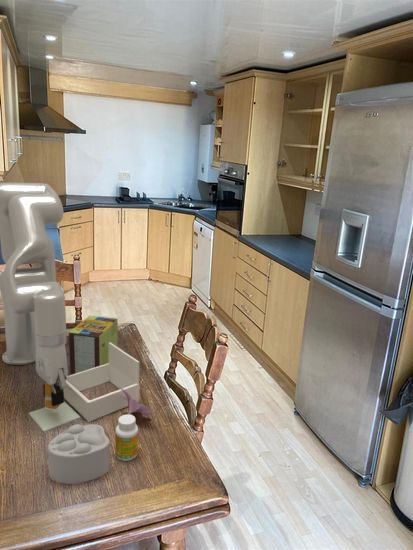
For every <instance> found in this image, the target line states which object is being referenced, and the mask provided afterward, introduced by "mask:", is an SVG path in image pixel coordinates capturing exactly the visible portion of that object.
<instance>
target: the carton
mask: <svg viewBox="0 0 413 550" xmlns="http://www.w3.org/2000/svg"><path fill="white" fill-rule="evenodd" d="M108 350H109V363H107V364H104V365H101V366H98V367H95V368H92V369H89V370H85V371H82V372H79V373H76V374H73V375H70V374H69V375H68V377H67V380H65V381H66V384H67V387H66V388H64V400H66V402H68V403H69V405H70V406H71V407H73V409H75V410H76V411H77V412H78V413H79V414H80V415H81V416H82V417H83V418H84V419H85V421H87V422H88V423H89V422H92V421H95V420H98V419H100V418H102V417H105V416H106V415H109V414H112V413H114V412H117V411H120V410H123V409H124V408H127V407H129V406H128V402H127V401H128V400H127V401H126V400H125V399H123V398H122V397H120V396H124V397H125V398H126V395H125V394H124V392H123V391H122V390H121V389H120V388H122V389H123V390H125V391H126V392H127V393H128V394H129V395H130V396H131V397H132V398H133V399H135V400H136V401H139V400H140V385H141V384H140V361H139V360H137V359H136V358H135V357H133V356H131V355H130V354H128V353H127V352H125V351H124V350H123V349H121V348H120V347H116V346H115V345H113V344H112V343H108ZM108 382H110V383H111V384H112V385H114V386H115V387H116V388H118V389H117V390H115V391H112V392H108V393H106V394H104V395H100V396H99V397H96V398H93V399H91V400H90V399H88V398H87V397H86V396H85V395H84V394H83V393H82V391H85V390H88V389H91V388H93V387H97V386H99V385H102V384H104V383H108ZM119 387H120V388H119ZM126 399H127V398H126ZM139 402H140V401H139Z"/></svg>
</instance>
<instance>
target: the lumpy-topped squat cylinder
mask: <svg viewBox="0 0 413 550" xmlns="http://www.w3.org/2000/svg"><path fill="white" fill-rule="evenodd" d="M110 446H111V445H110V439H109V437H108V436H107V435H106V433H105V428H104V427H103V426H102V425H100V424H96V423H95V424H92V423H91V424H86V425H82V424H79V423H78V424H73V425H71V426H70V427H68V429H66V430H64V431H62V432H61V433H59V434H57V435H56V436H55V437H54V438H52V439H51V440H50V442H49V443H48V446H47V456H48V457H47V459H48V460H47V461H48V476H49V477H50V479H51V480H52V481H54V482H56V483H59V484H63V485H65V484H67V485H77V484H83V483H85V482H89V481H92V480H95V479H98V478H101V477H103V476H104V475H106V474H107V473H108V472H109V470H110V467H111V464H110V462H111V460H110V459H111V457H110V456H111V455H110V453H111V447H110Z"/></svg>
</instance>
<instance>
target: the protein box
mask: <svg viewBox="0 0 413 550" xmlns="http://www.w3.org/2000/svg"><path fill="white" fill-rule="evenodd" d="M118 321H119V319H118V318H114V317H112V318H111V317H106V316H105V317H103V316H99V315H98V316H97V315H88V316H87V317H86V318H84V320H82V321H80V322H79V323H78V324H77V325H76V326H74V327H73V328H72V329H71V330H70V331H69V332H68V342H69V343H68V346H69V349H68V350H69V351H68V352H69V367H70V368H69V372H70V373H69V376H70V375H73V374H76V373H79V372H82V371H85V370H89V369H92V368H95V367H98V366H101V365H104V364H107V363H109V350H108V343H112V344H113V345H115V346H116V347H118V345H119V344H118V340H119V339H118V332H119V331H118V327H119V325H118ZM118 348H119V347H118Z"/></svg>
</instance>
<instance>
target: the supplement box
mask: <svg viewBox="0 0 413 550" xmlns="http://www.w3.org/2000/svg"><path fill="white" fill-rule="evenodd" d="M57 380H58V378H57ZM58 385H59V383H57V384H55V386H56V387H57V386H58ZM51 392H53V391H52V385H49V384H48V383H46V382H45V398H44V402H45V403H44V404H45V405H44V407H46V408H51V409H57V408H58V407H59V405H60V404H59V405H56V406H52V402H51Z"/></svg>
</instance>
